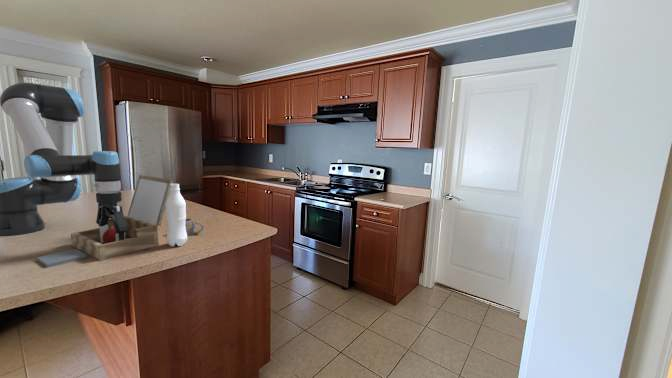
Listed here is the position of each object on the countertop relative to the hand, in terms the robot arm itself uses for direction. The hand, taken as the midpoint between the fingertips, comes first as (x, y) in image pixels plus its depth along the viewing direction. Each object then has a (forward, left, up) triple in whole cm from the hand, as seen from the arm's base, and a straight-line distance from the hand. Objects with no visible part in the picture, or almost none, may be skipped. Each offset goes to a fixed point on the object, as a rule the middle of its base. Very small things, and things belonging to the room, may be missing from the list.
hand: (113, 245), depth 108 cm
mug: (+9, +26, -1) cm, 28 cm away
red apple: (0, 0, 0) cm, 0 cm away
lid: (0, +14, +17) cm, 22 cm away
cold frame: (0, +1, 0) cm, 1 cm away
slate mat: (+1, -15, 0) cm, 15 cm away
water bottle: (+18, +15, 0) cm, 23 cm away
